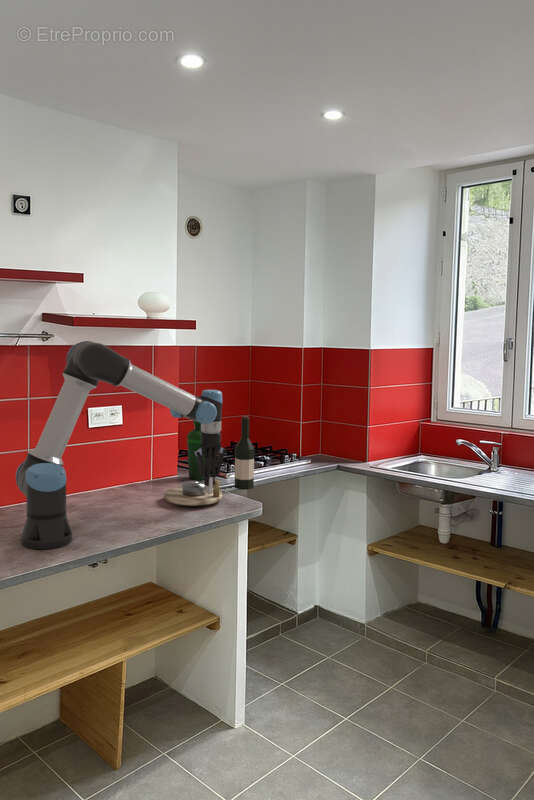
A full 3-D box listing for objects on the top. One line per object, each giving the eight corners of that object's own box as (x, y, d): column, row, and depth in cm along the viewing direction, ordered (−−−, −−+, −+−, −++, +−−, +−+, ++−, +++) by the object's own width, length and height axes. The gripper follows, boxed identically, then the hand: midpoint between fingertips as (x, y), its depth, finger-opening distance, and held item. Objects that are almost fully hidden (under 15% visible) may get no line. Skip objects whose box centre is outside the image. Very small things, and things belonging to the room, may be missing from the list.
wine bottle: (256, 485, 277) (258, 415, 273) (250, 490, 269) (252, 418, 265) (237, 483, 279) (239, 414, 275) (231, 488, 271) (232, 417, 267)
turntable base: (183, 509, 240) (183, 505, 240) (165, 498, 253) (165, 495, 253) (221, 503, 249) (221, 500, 249) (202, 493, 262) (202, 490, 262)
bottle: (212, 476, 291) (213, 413, 288) (208, 481, 281) (209, 417, 277) (189, 474, 292) (189, 412, 289) (183, 480, 282) (184, 416, 278)
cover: (199, 497, 245) (199, 485, 244) (178, 494, 248) (178, 483, 248) (209, 492, 253) (210, 480, 253) (189, 489, 256) (189, 477, 256)
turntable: (207, 508, 237) (207, 488, 236) (153, 501, 244) (153, 481, 243) (231, 493, 257) (231, 475, 257) (181, 487, 265) (181, 469, 264)
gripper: (200, 434, 236) (198, 498, 239) (231, 432, 243) (228, 494, 246) (190, 431, 242) (189, 493, 245) (221, 428, 249) (219, 489, 252)
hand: (209, 493), depth 245 cm, fingers closed
